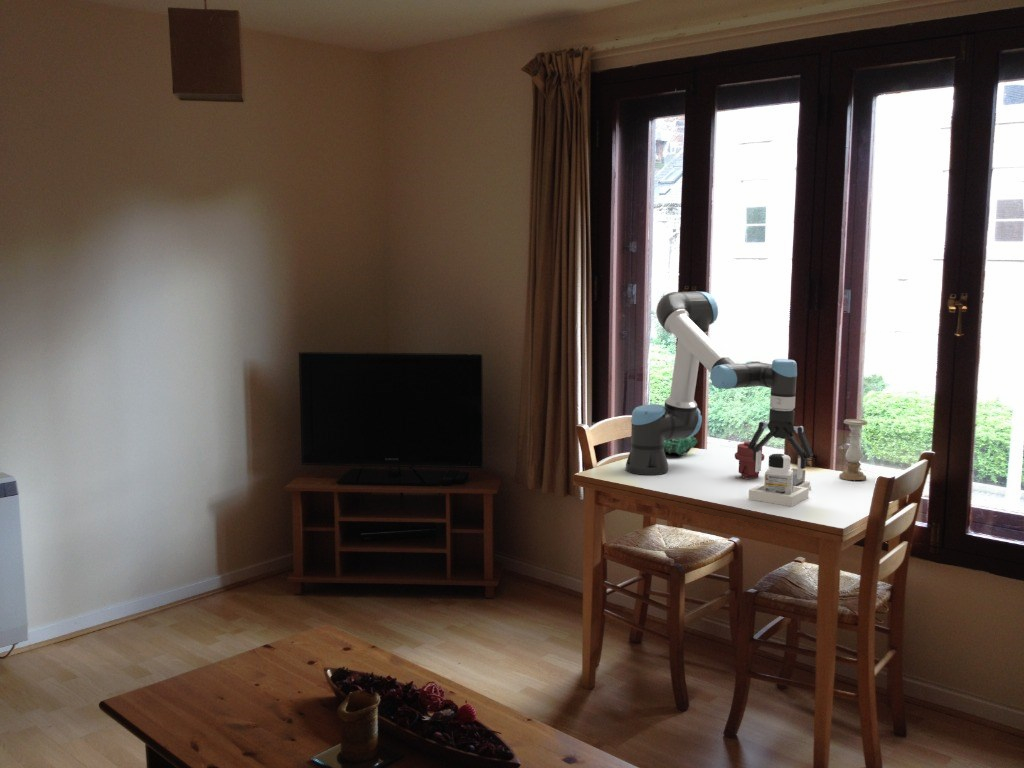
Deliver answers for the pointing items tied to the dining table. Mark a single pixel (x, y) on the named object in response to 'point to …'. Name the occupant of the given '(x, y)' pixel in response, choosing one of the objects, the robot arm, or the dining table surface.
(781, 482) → the container
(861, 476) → the candle holder
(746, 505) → the dining table surface
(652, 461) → the robot arm
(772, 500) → the dock socket
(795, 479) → the grey rectangular block
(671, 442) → the mineral
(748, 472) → the mechanical component
